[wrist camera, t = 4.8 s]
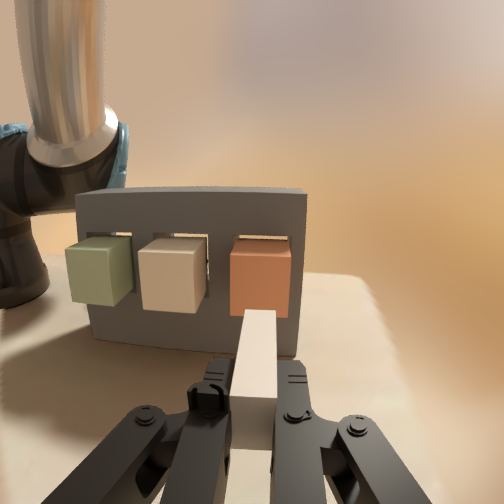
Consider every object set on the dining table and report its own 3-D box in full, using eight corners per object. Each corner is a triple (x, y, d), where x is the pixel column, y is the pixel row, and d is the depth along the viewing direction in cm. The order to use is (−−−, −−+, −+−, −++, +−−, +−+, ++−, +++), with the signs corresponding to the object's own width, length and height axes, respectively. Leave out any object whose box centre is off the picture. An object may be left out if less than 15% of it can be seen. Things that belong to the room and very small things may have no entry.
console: (93, 338, 29) (74, 194, 25) (117, 313, 34) (105, 188, 31) (295, 355, 28) (307, 194, 24) (292, 324, 33) (300, 188, 30)
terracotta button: (230, 315, 23) (230, 255, 21) (237, 289, 27) (237, 238, 26) (287, 317, 22) (291, 256, 21) (284, 291, 27) (287, 239, 26)
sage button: (72, 301, 23) (64, 249, 22) (99, 281, 28) (94, 234, 27) (113, 306, 23) (107, 250, 22) (137, 284, 28) (133, 235, 27)
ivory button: (143, 309, 23) (137, 251, 22) (163, 285, 28) (160, 236, 26) (195, 313, 23) (192, 253, 21) (207, 288, 27) (206, 237, 26)
